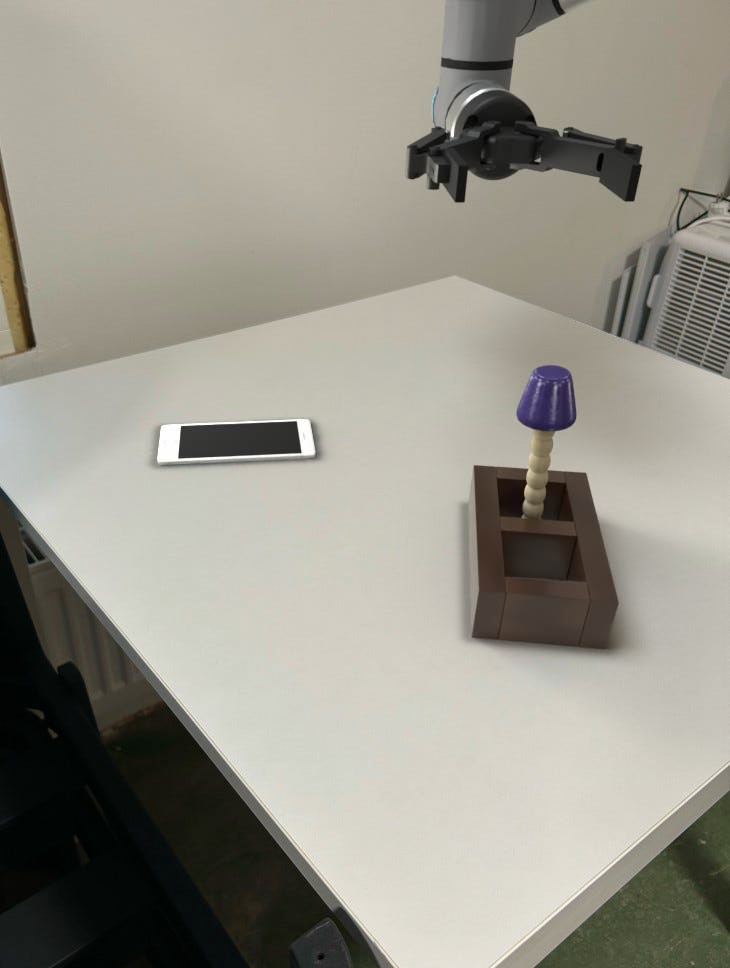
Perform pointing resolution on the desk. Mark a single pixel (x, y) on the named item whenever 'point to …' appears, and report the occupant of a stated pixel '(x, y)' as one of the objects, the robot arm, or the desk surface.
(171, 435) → the cell phone
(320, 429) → the desk surface
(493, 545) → the stand
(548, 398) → the toy lamp
